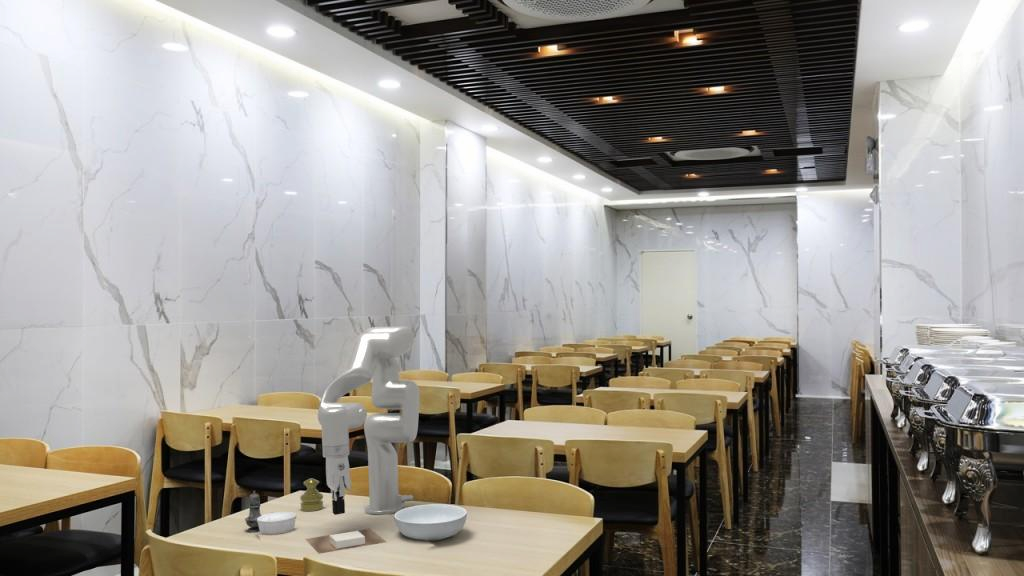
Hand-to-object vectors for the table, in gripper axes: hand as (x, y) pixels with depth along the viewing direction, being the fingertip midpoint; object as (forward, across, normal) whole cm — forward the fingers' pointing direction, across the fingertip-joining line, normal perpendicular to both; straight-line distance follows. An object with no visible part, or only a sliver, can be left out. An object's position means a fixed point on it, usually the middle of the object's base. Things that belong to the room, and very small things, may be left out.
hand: (338, 513), depth 235 cm
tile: (+5, -7, +1) cm, 8 cm away
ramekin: (+8, +16, +15) cm, 23 cm away
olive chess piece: (+9, +40, -1) cm, 41 cm away
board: (+7, -7, 0) cm, 10 cm away
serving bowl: (+8, -13, -23) cm, 28 cm away
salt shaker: (+8, +24, +20) cm, 32 cm away
